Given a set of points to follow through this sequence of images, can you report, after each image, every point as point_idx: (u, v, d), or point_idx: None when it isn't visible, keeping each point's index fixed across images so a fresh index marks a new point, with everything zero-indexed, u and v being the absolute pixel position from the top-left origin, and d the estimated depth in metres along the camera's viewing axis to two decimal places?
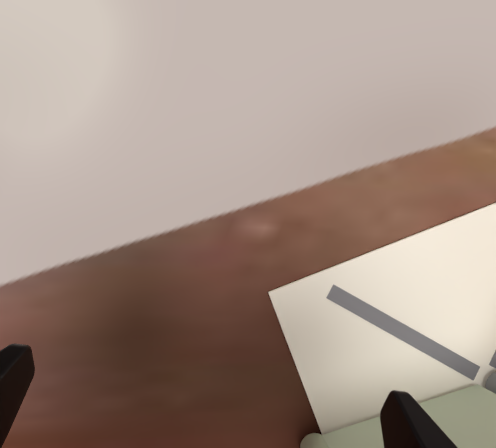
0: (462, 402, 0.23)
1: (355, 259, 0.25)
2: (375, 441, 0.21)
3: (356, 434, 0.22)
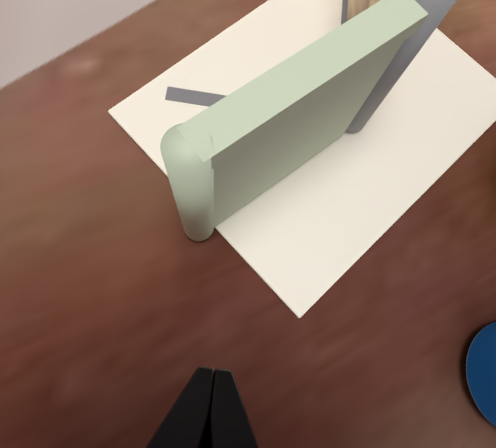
0: None
1: (180, 62, 0.26)
2: None
3: None
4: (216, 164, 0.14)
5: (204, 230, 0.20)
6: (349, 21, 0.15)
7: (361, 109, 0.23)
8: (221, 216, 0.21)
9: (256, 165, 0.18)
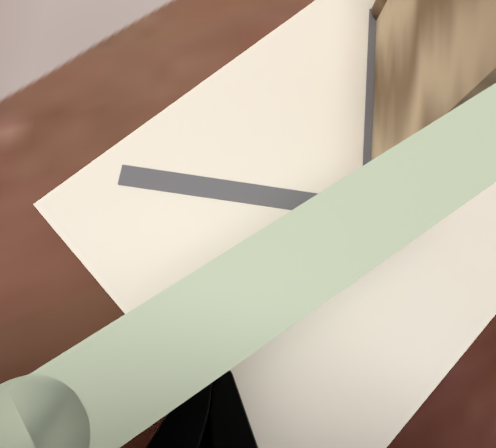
0: None
1: (142, 127, 0.18)
2: None
3: None
4: None
5: None
6: (420, 133, 0.07)
7: None
8: None
9: None
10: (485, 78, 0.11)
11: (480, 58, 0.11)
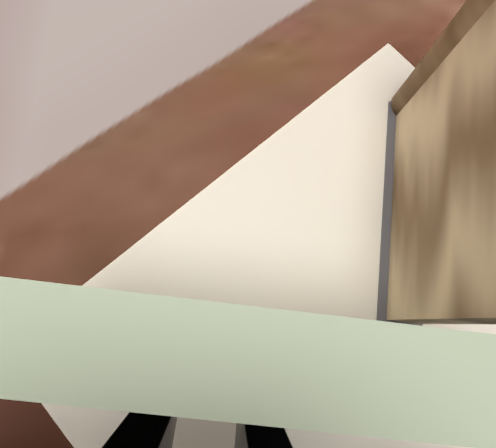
0: None
1: (128, 251, 0.16)
2: None
3: None
4: None
5: None
6: (437, 331, 0.06)
7: None
8: None
9: None
10: None
11: None
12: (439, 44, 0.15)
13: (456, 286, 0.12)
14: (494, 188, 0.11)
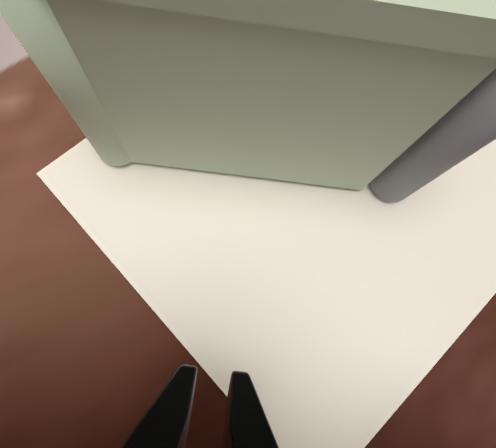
0: None
1: None
2: None
3: None
4: None
5: (96, 143, 0.15)
6: None
7: (398, 168, 0.15)
8: (137, 150, 0.16)
9: (172, 95, 0.12)
10: None
11: None
12: None
13: None
14: None
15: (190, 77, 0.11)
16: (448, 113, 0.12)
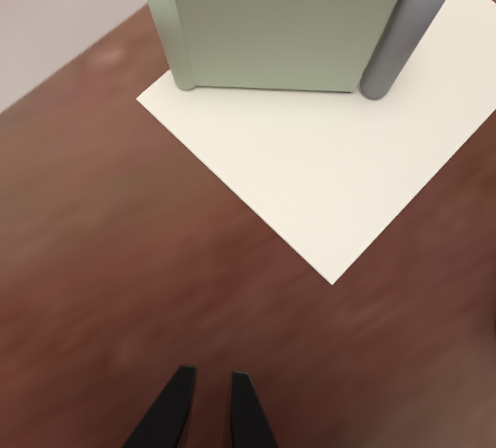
0: None
1: None
2: None
3: None
4: None
5: (177, 68, 0.23)
6: None
7: (374, 67, 0.23)
8: (201, 74, 0.24)
9: (227, 24, 0.20)
10: None
11: None
12: None
13: None
14: None
15: (238, 10, 0.19)
16: (393, 18, 0.19)
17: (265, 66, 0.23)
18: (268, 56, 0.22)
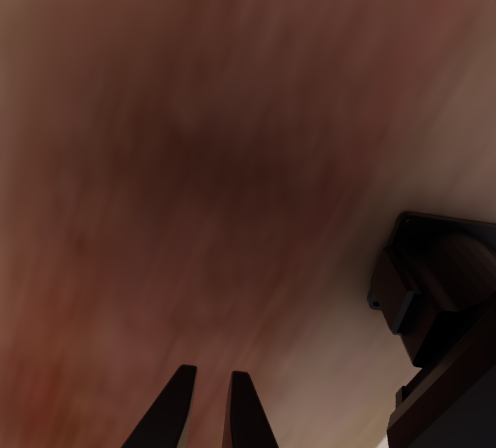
0: None
1: None
2: None
3: None
4: None
5: None
6: None
7: None
8: None
9: None
10: None
11: None
12: None
13: None
14: None
15: None
16: None
17: None
18: None
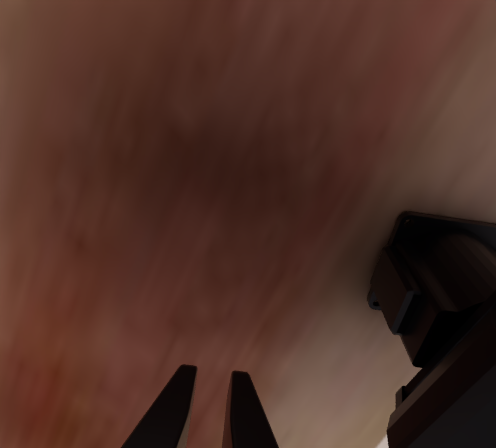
0: None
1: None
2: None
3: None
4: None
5: None
6: None
7: None
8: None
9: None
10: None
11: None
12: None
13: None
14: None
15: None
16: None
17: None
18: None
